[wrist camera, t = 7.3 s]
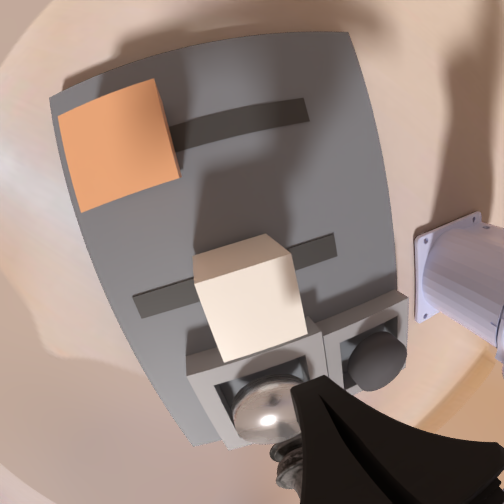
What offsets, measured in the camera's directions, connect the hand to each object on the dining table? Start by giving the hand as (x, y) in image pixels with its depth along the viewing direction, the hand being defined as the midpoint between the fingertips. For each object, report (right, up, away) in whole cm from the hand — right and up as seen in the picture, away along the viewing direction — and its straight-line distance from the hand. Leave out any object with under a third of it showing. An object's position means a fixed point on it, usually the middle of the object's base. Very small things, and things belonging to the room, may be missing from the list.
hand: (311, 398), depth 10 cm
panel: (-2, +5, +8) cm, 10 cm away
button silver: (-1, -4, +7) cm, 8 cm away
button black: (+6, -2, +8) cm, 10 cm away
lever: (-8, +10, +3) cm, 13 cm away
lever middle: (-3, +4, +6) cm, 8 cm away
